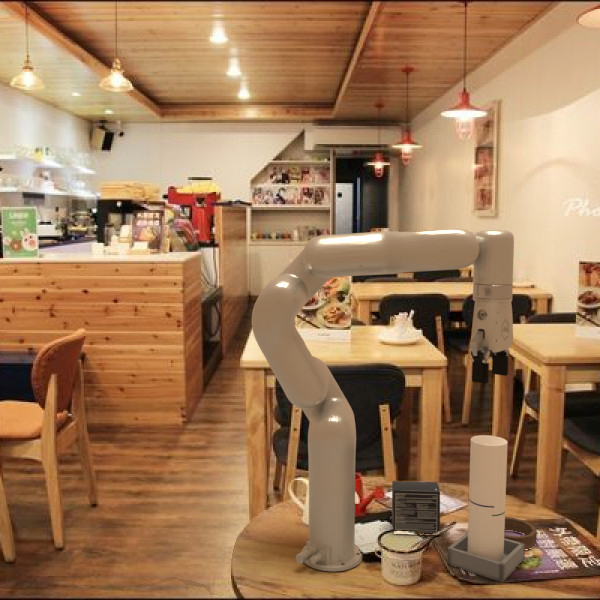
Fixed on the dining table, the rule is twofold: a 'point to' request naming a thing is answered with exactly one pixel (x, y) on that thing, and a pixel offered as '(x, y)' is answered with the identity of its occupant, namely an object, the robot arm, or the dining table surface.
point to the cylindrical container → (487, 496)
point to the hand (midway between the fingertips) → (490, 378)
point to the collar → (522, 527)
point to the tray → (486, 559)
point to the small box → (416, 506)
